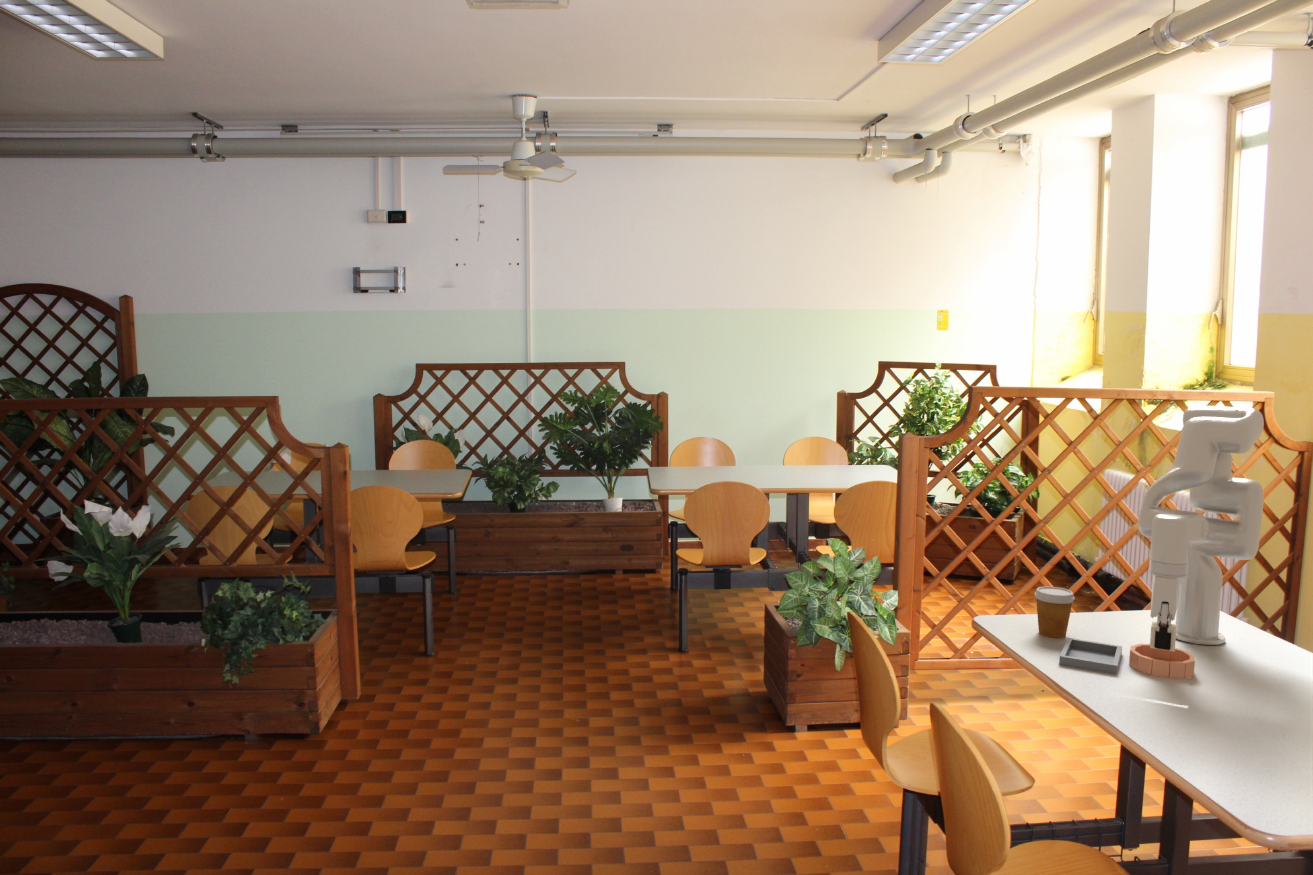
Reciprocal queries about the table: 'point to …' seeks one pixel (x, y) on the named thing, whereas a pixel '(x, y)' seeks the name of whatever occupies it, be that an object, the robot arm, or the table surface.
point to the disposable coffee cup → (1053, 610)
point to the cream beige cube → (1172, 631)
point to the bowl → (1162, 661)
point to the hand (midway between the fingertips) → (1162, 644)
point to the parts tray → (1091, 655)
